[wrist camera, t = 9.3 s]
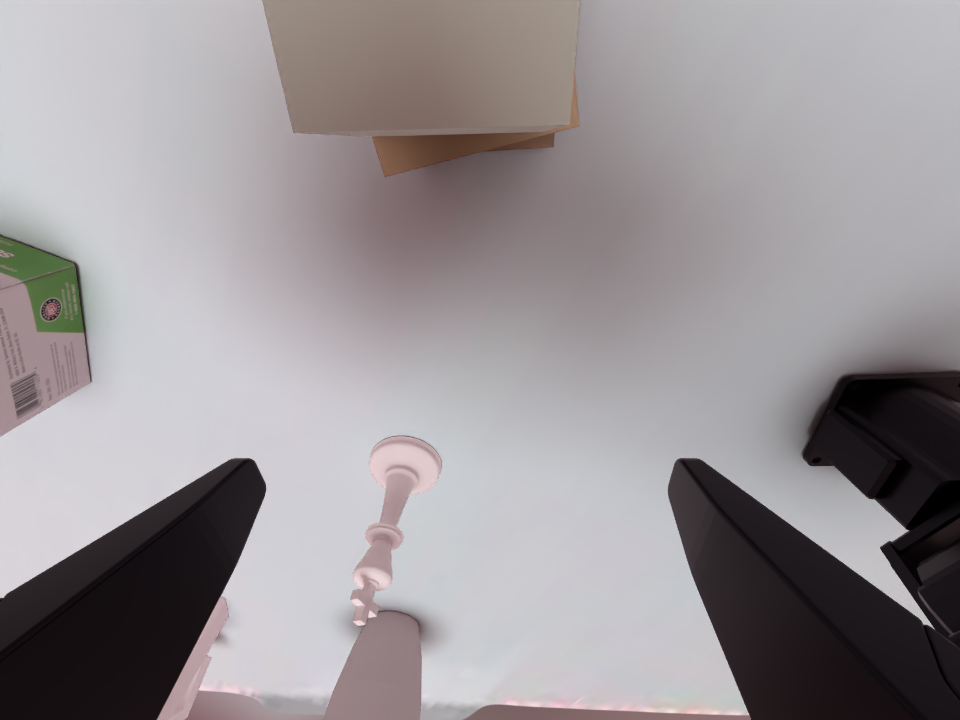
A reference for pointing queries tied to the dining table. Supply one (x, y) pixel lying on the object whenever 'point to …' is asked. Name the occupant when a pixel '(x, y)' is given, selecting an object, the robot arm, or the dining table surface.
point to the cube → (425, 65)
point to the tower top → (449, 145)
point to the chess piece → (391, 513)
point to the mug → (194, 667)
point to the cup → (381, 672)
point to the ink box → (38, 333)
